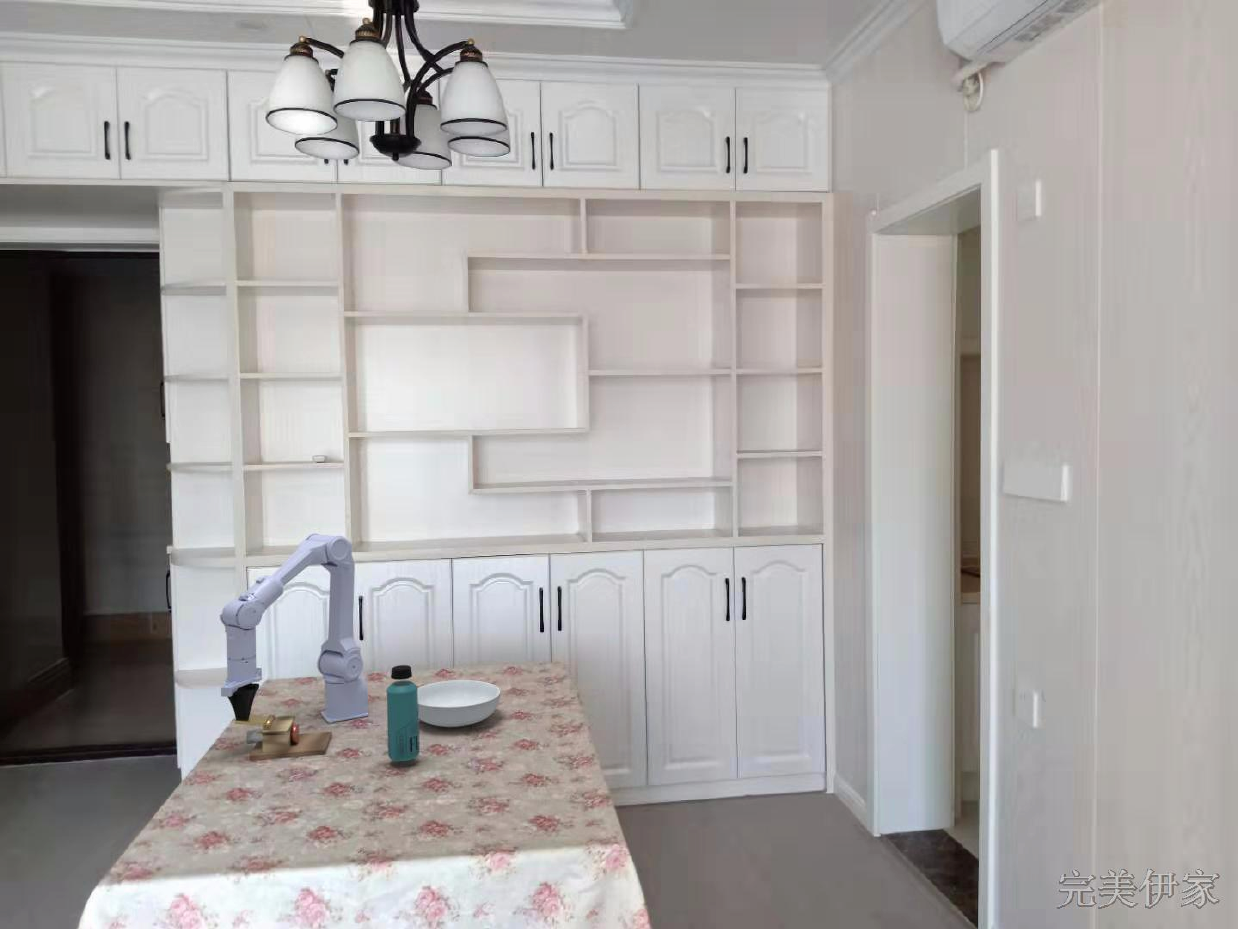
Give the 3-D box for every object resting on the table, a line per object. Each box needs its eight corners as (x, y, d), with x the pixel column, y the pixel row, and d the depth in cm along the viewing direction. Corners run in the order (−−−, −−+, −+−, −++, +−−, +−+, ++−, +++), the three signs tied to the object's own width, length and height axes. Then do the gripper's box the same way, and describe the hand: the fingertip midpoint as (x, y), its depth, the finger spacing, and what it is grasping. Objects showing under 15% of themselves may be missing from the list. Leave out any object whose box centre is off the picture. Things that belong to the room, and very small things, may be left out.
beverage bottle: (412, 770, 174) (409, 672, 173) (381, 767, 175) (379, 670, 174) (425, 757, 180) (423, 663, 179) (396, 755, 181) (393, 661, 180)
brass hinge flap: (273, 720, 187) (274, 716, 187) (269, 727, 183) (270, 723, 183) (239, 717, 186) (240, 713, 186) (234, 724, 181) (235, 719, 181)
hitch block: (331, 736, 193) (331, 707, 193) (325, 754, 182) (324, 724, 182) (260, 741, 190) (259, 712, 190) (249, 760, 179) (248, 729, 179)
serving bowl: (493, 737, 191) (492, 706, 191) (399, 737, 192) (398, 707, 192) (507, 706, 212) (506, 678, 212) (422, 706, 213) (422, 679, 212)
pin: (299, 739, 188) (299, 722, 188) (296, 745, 184) (296, 728, 184) (250, 743, 186) (249, 725, 186) (246, 749, 182) (245, 731, 182)
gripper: (244, 666, 176) (245, 732, 176) (274, 648, 190) (275, 709, 191) (210, 666, 176) (211, 731, 176) (243, 648, 190) (244, 709, 191)
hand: (242, 720), depth 184 cm, fingers closed, pressing on brass hinge flap
